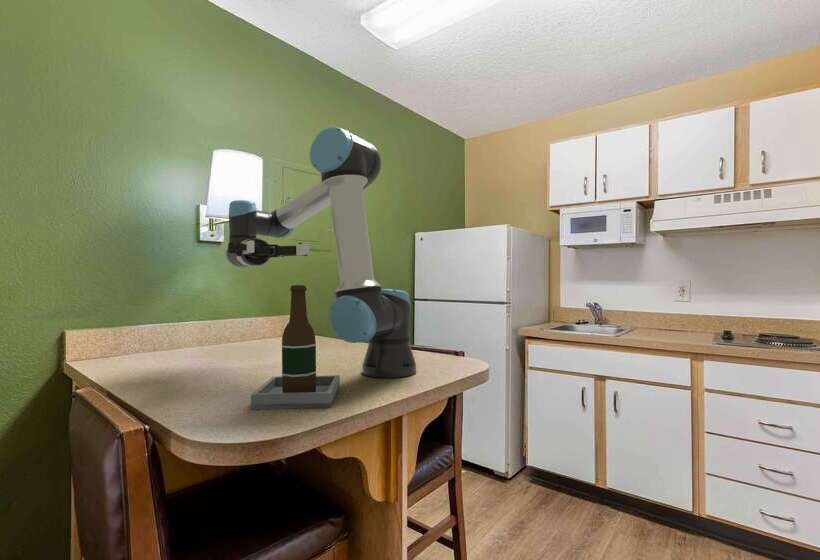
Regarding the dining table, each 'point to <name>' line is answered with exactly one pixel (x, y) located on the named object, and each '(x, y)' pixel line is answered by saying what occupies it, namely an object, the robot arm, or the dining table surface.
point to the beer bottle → (298, 347)
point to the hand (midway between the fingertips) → (281, 247)
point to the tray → (296, 394)
